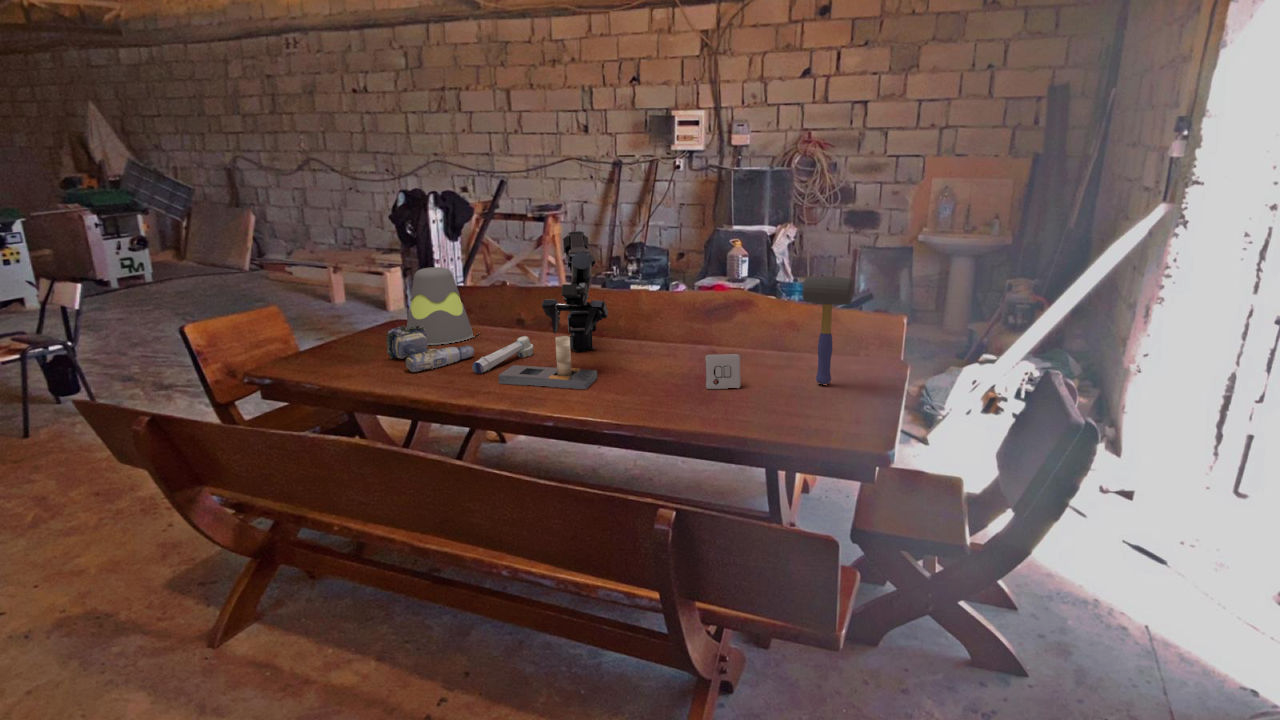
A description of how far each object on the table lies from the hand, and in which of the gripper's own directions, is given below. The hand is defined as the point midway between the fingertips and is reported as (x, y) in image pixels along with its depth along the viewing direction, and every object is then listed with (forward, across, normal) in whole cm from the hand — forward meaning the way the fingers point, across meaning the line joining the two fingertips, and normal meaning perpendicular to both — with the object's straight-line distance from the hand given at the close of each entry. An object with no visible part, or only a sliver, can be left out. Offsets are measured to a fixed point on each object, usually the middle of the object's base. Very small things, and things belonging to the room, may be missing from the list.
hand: (569, 333), depth 214 cm
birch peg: (+14, 0, +4) cm, 14 cm away
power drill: (+5, -50, +14) cm, 52 cm away
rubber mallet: (+7, +71, +11) cm, 72 cm away
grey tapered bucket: (-17, -62, +36) cm, 73 cm away
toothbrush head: (+3, -24, +16) cm, 29 cm away
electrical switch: (+11, +44, +7) cm, 46 cm away
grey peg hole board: (+13, -5, +4) cm, 15 cm away
